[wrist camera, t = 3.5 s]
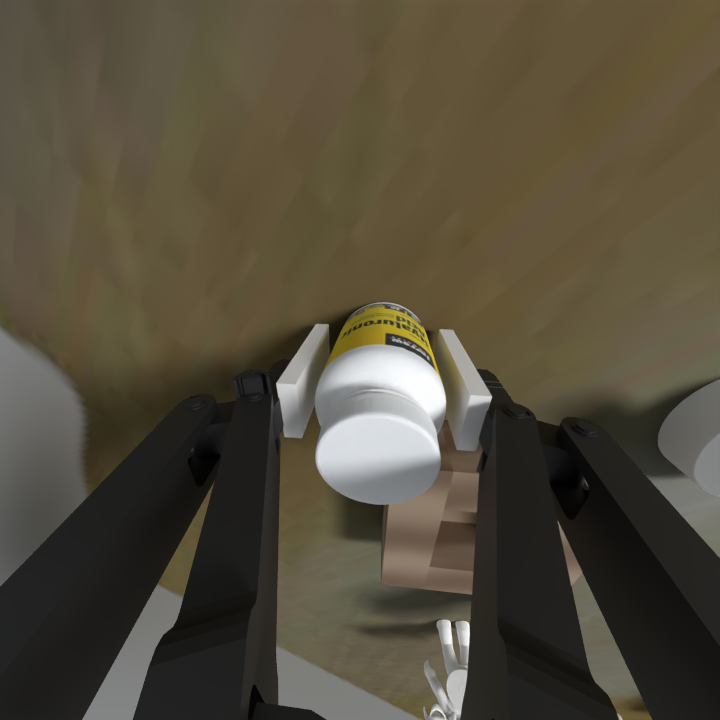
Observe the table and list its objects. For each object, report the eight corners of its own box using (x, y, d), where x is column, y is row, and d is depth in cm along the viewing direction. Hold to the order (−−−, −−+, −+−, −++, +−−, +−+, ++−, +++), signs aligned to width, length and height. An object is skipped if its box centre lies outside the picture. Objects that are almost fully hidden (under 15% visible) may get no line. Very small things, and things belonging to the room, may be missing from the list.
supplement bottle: (434, 304, 16) (492, 409, 7) (417, 382, 18) (444, 530, 10) (342, 294, 16) (289, 384, 7) (338, 372, 18) (294, 509, 10)
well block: (391, 416, 20) (392, 466, 16) (593, 430, 19) (648, 487, 15) (381, 529, 26) (380, 584, 22) (530, 543, 25) (557, 604, 21)
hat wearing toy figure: (491, 620, 33) (540, 809, 22) (486, 633, 35) (529, 814, 24) (417, 613, 34) (430, 792, 23) (415, 627, 36) (428, 798, 25)
